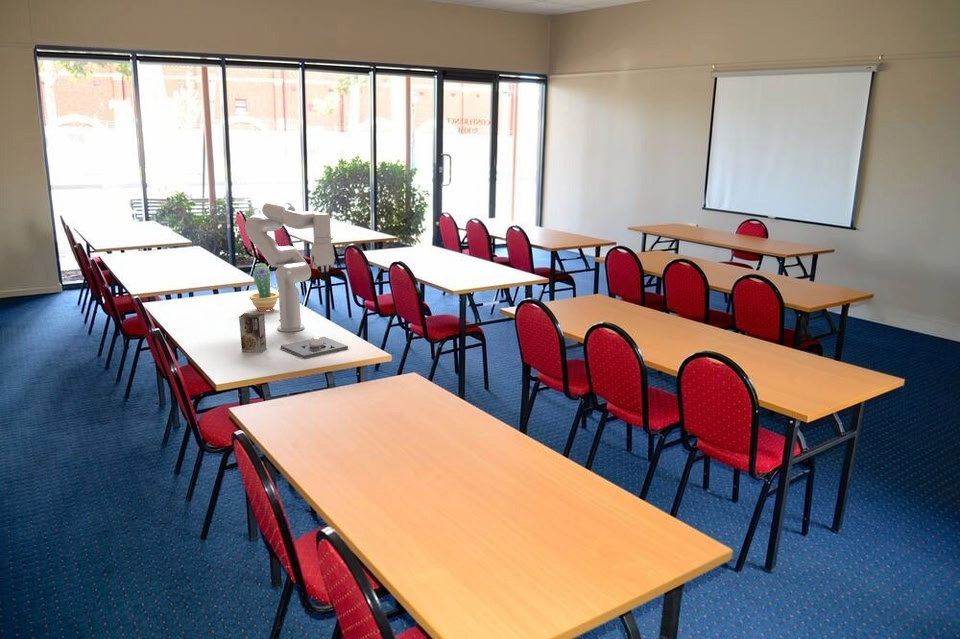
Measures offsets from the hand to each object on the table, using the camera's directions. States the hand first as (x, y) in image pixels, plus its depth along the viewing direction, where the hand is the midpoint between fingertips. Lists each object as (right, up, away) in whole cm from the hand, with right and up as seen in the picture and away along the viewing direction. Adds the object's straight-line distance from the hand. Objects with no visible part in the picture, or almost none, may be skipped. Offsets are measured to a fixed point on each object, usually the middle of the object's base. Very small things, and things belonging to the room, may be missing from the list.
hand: (324, 280), depth 336 cm
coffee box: (-27, -32, -15) cm, 44 cm away
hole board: (-2, -31, -12) cm, 33 cm away
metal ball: (0, -29, -15) cm, 32 cm away
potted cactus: (-44, -13, +57) cm, 73 cm away
